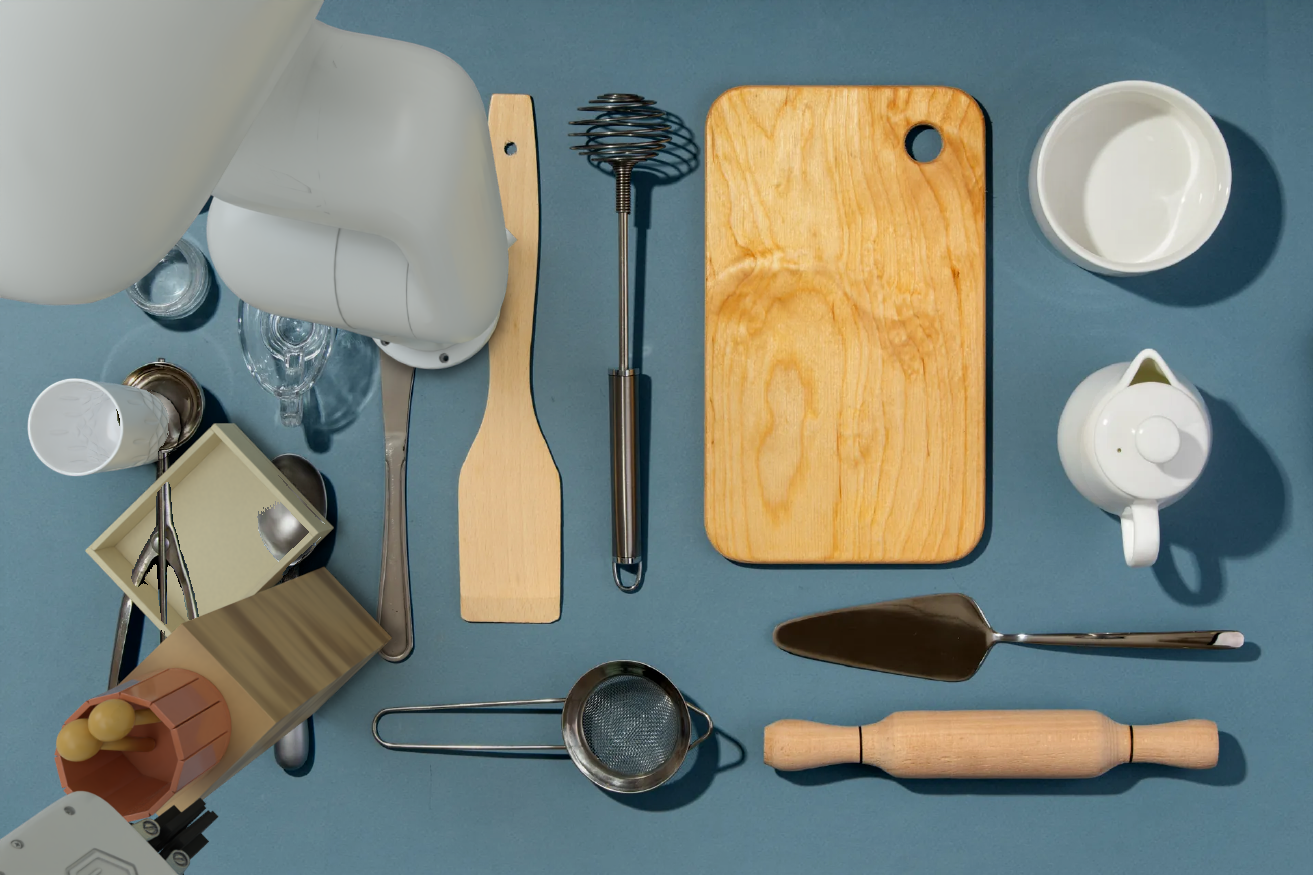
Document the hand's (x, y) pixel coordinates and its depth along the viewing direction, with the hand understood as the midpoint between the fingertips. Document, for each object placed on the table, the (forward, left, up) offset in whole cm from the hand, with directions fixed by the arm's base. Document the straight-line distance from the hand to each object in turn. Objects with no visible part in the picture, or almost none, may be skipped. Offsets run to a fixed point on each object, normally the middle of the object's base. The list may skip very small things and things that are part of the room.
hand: (192, 823), depth 55 cm
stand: (0, -6, -29) cm, 30 cm away
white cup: (-2, -31, -30) cm, 43 cm away
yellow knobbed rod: (-2, -6, -5) cm, 8 cm away
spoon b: (+2, -6, -5) cm, 8 cm away
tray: (0, -19, -29) cm, 35 cm away
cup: (0, -6, -5) cm, 8 cm away
